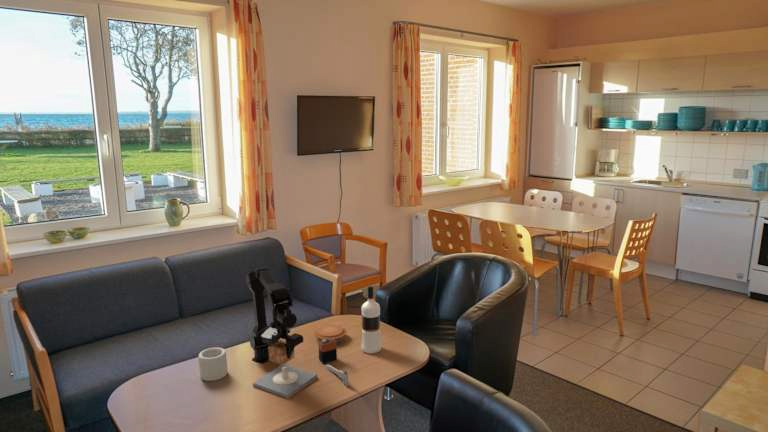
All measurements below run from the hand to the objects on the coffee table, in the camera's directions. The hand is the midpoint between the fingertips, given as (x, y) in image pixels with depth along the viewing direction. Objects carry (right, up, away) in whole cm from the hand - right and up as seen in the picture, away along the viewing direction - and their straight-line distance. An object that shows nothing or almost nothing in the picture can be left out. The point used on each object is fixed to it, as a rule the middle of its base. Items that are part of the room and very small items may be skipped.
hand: (281, 356), depth 206 cm
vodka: (+35, -5, +30) cm, 46 cm away
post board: (+1, -11, +3) cm, 12 cm away
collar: (0, -1, 0) cm, 1 cm away
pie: (+15, -3, +41) cm, 44 cm away
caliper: (+21, -11, +7) cm, 24 cm away
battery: (+16, -8, +20) cm, 27 cm away
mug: (-31, -10, +10) cm, 34 cm away
